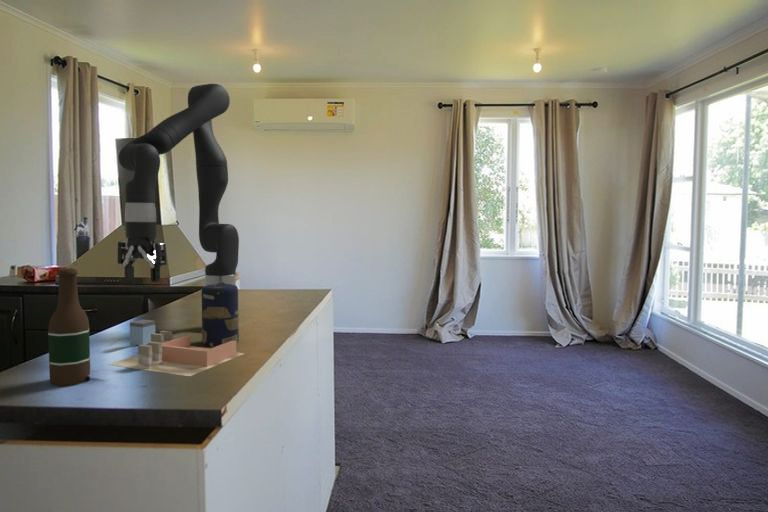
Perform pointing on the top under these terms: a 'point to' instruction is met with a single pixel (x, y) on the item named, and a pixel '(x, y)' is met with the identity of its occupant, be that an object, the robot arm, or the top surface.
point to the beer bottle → (68, 335)
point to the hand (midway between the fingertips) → (142, 280)
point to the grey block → (141, 332)
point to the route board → (152, 358)
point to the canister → (219, 314)
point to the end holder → (196, 352)
